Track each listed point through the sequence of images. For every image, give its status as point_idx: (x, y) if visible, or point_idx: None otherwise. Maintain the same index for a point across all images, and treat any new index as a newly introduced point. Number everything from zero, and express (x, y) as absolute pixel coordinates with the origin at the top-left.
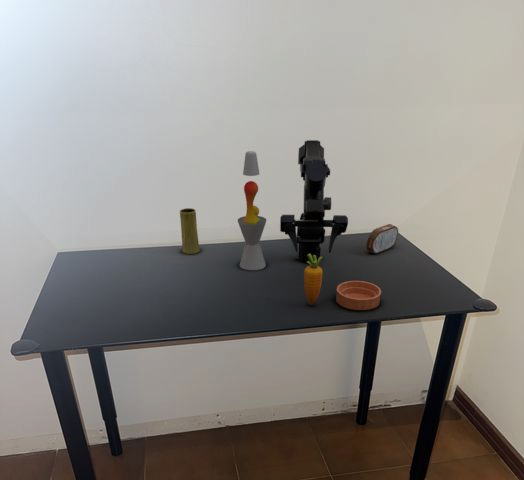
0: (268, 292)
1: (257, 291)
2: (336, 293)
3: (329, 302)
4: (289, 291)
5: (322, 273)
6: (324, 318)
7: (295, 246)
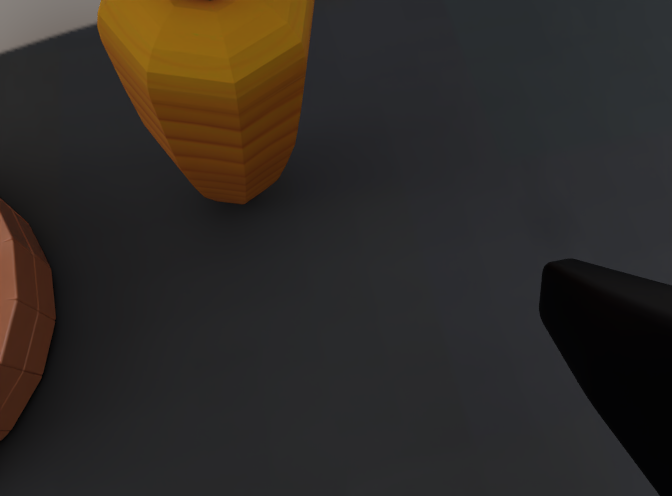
0: None
1: None
2: (32, 286)
3: (109, 263)
4: (444, 383)
5: (106, 47)
6: None
7: (629, 275)
